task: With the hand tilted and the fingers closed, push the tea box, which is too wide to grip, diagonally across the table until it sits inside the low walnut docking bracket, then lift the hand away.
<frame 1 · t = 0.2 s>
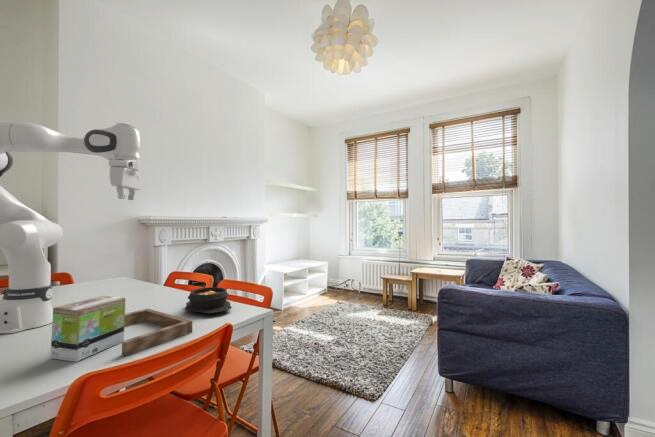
hand: (126, 199, 119), 48 cm above the table, tool pointing down, fingers open, 8 cm apart
casserole: (208, 309, 132), on the table
dock: (138, 334, 102), on the table
tea box: (90, 350, 90), on the table
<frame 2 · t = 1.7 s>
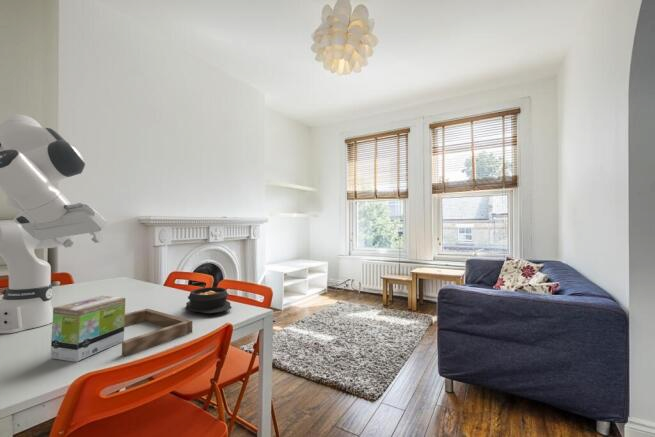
hand: (84, 243, 89), 33 cm above the table, tool tilted 40°, fingers open, 8 cm apart
nothing on the table moved.
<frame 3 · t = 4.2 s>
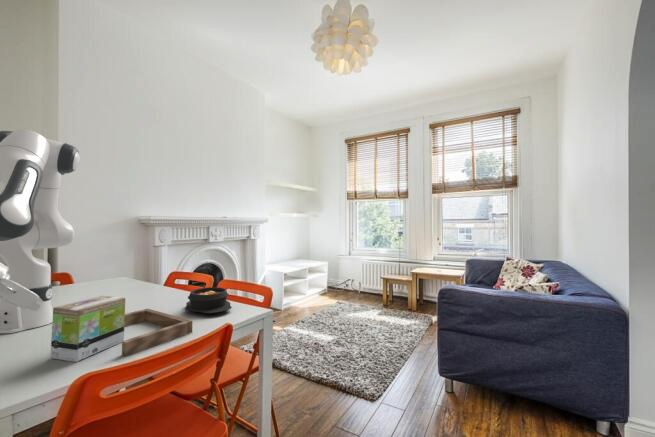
hand: (36, 308, 79), 16 cm above the table, tool tilted 45°, fingers closed
nothing on the table moved.
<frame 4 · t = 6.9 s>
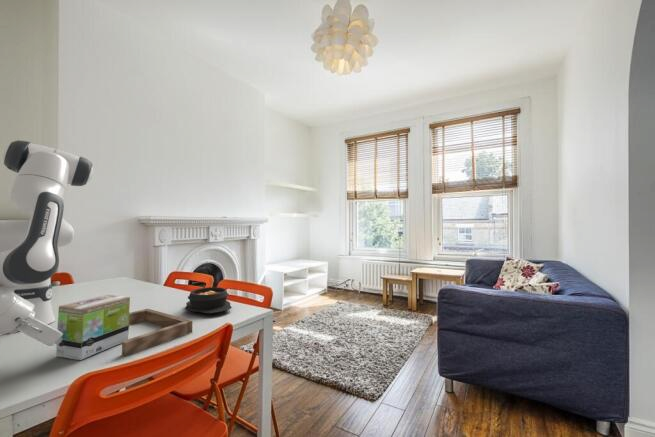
hand: (58, 340, 84), 5 cm above the table, tool tilted 45°, fingers closed
tea box: (95, 348, 91), on the table, touching gripper
everything else where it was.
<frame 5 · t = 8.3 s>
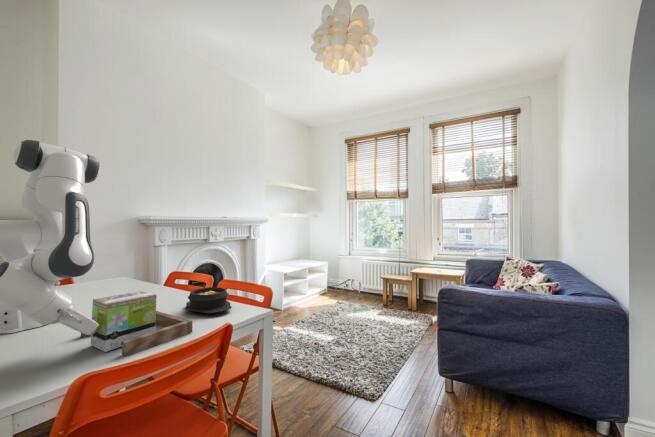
hand: (92, 331, 91), 5 cm above the table, tool tilted 45°, fingers closed, pressing on tea box
tea box: (124, 341, 97), on the table, touching gripper
everything else where it was.
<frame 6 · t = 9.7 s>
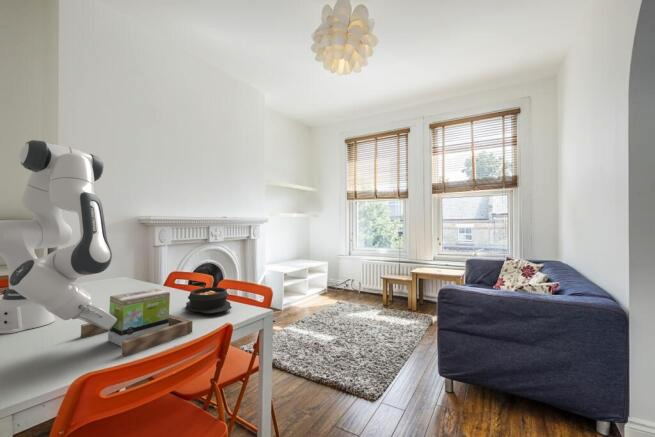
hand: (109, 326, 95), 5 cm above the table, tool tilted 45°, fingers closed
tea box: (139, 337, 101), on the table, touching gripper
everything else where it was.
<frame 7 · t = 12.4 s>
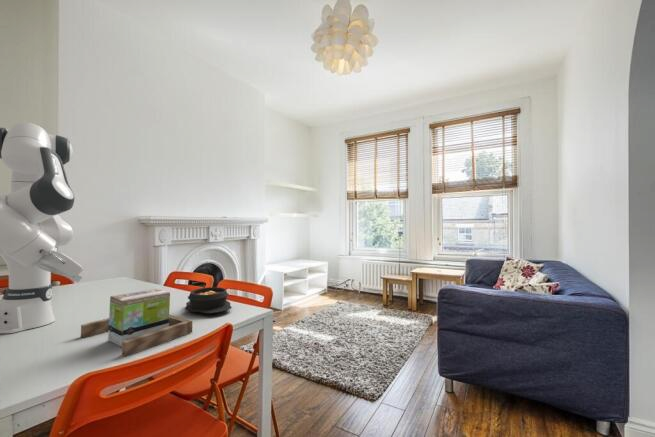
hand: (77, 279, 87), 22 cm above the table, tool tilted 45°, fingers closed
tea box: (139, 337, 101), on the table
everything else where it was.
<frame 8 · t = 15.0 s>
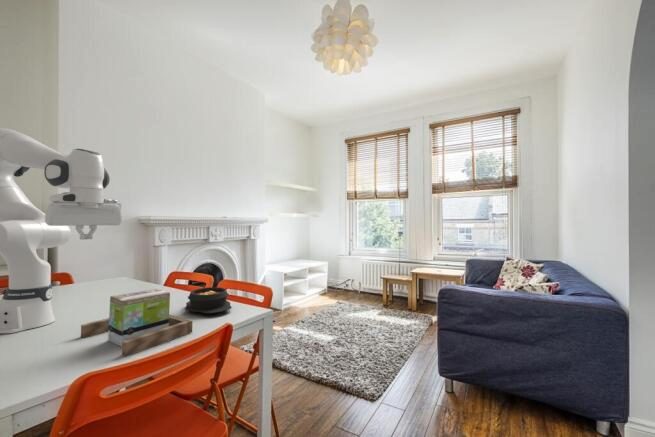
hand: (86, 239, 98), 33 cm above the table, tool pointing down, fingers closed
nothing on the table moved.
at the end: tea box inside the target area on the dock (2.4 cm from its centre), point 0.0 cm above the dock's base; tea box tilted 0°; tea box moved 13.5 cm from its start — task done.
